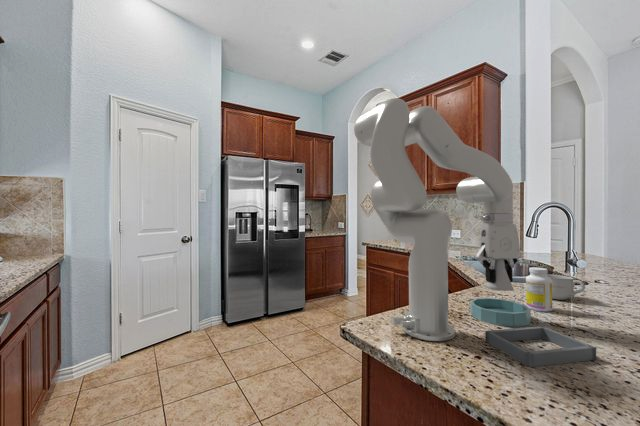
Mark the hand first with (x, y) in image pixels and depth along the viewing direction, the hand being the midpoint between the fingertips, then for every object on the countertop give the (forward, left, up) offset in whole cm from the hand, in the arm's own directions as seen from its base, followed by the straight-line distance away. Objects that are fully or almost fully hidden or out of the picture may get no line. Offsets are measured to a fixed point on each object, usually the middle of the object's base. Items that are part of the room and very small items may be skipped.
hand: (499, 280), depth 87 cm
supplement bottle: (+18, +4, -11) cm, 21 cm away
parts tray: (-8, -20, -11) cm, 24 cm away
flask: (0, 0, -2) cm, 2 cm away
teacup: (+35, +12, -11) cm, 38 cm away
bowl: (0, 0, -11) cm, 11 cm away
